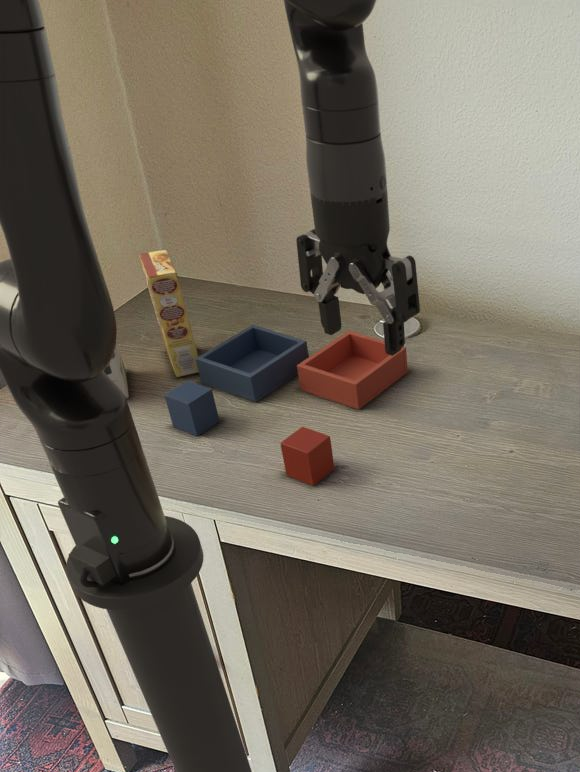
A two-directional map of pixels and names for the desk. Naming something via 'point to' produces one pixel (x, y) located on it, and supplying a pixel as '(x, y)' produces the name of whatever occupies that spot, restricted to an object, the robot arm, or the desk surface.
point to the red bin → (351, 370)
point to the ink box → (117, 371)
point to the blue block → (192, 408)
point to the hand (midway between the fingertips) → (363, 342)
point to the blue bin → (252, 362)
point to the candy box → (170, 311)
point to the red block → (307, 455)
